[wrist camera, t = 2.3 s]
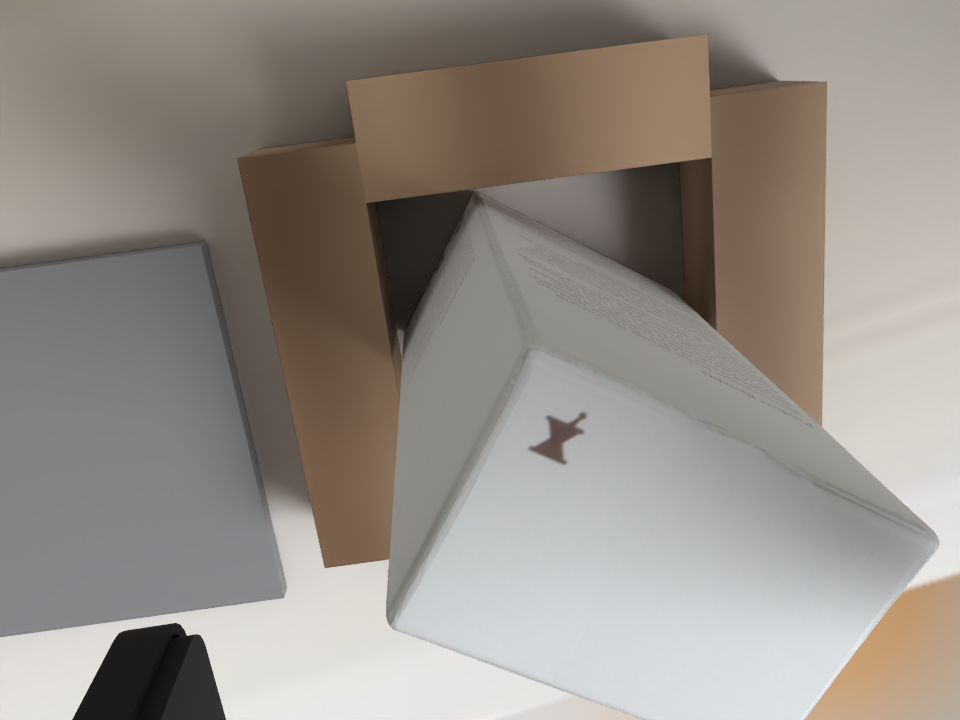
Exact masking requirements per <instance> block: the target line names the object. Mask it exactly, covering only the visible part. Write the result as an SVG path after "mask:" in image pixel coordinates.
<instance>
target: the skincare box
mask: <svg viewBox="0 0 960 720" xmlns="http://www.w3.org/2000/svg"><path fill="white" fill-rule="evenodd" d="M938 546H939V540H938V537H937V535H936V534H935V532H934V531H933V530H932V529H931V528H929V527H928V526H927V525H926V524H925V523H924V522H923V521H922V520H921V519H920V518H919V517H918V516H916V515H915V514H914V513H913V512H912V511H911V510H910V509H909V508H908V507H907V506H906V505H904V504H903V503H902V502H901V501H900V500H899V499H898V498H897V497H896V496H895V495H894V494H893V493H892V492H890V491H889V490H888V489H887V488H886V487H885V486H884V485H883V484H882V483H881V482H880V481H879V480H877V479H876V478H875V477H874V476H873V475H872V474H871V473H870V472H869V471H868V470H867V469H866V468H865V467H864V466H863V465H861V464H860V463H859V462H858V461H857V460H856V459H855V458H854V457H853V456H852V455H851V454H850V453H849V452H848V451H847V450H845V449H844V448H843V447H842V446H841V445H840V444H839V443H838V442H837V441H836V440H835V439H834V438H833V437H832V436H831V435H829V434H828V433H827V432H826V431H825V430H824V429H823V428H822V427H821V426H820V425H819V424H817V423H816V422H815V421H814V420H813V419H812V418H811V417H810V416H809V415H808V414H807V413H806V412H805V411H803V410H802V409H801V408H800V407H799V406H798V405H797V404H796V403H795V402H794V401H792V400H791V399H790V398H789V397H788V396H787V395H786V394H785V393H784V392H783V391H781V390H780V389H779V388H778V387H777V386H776V385H775V384H774V383H773V382H772V381H771V380H770V379H768V378H767V377H766V376H765V375H764V374H763V373H762V372H761V371H759V370H758V369H757V368H756V367H755V366H754V365H753V364H752V363H751V362H750V361H749V360H747V359H746V358H745V357H744V356H743V355H742V354H741V353H740V352H739V351H737V350H736V349H735V348H734V347H733V346H732V345H731V344H730V343H729V342H728V341H727V340H726V339H725V338H724V337H722V336H721V335H720V334H719V333H718V332H717V331H716V330H715V329H713V328H712V327H711V326H710V325H709V324H708V323H707V322H706V321H705V320H704V319H703V318H702V317H701V316H700V315H699V314H698V313H697V312H696V311H694V310H693V309H692V308H691V307H690V306H689V305H688V304H687V303H686V302H685V301H683V300H682V299H681V298H680V297H679V296H678V295H677V294H676V293H675V292H674V291H672V290H670V289H669V288H667V287H665V286H663V285H661V284H659V283H657V282H655V281H653V280H651V279H649V278H647V277H645V276H643V275H641V274H639V273H637V272H635V271H633V270H631V269H629V268H627V267H625V266H623V265H621V264H619V263H617V262H615V261H613V260H611V259H609V258H607V257H605V256H603V255H601V254H599V253H597V252H595V251H593V250H591V249H589V248H587V247H585V246H583V245H582V244H580V243H578V242H576V241H574V240H572V239H570V238H568V237H566V236H564V235H562V234H560V233H558V232H556V231H554V230H552V229H550V228H548V227H546V226H544V225H542V224H540V223H538V222H536V221H534V220H532V219H530V218H528V217H526V216H524V215H522V214H520V213H518V212H516V211H514V210H512V209H510V208H508V207H506V206H504V205H502V204H500V203H498V202H496V201H494V200H492V199H490V198H488V197H486V196H484V195H482V194H480V193H477V192H476V193H474V194H473V195H472V197H471V199H470V201H469V203H468V205H467V207H466V209H465V211H464V213H463V215H462V217H461V219H460V221H459V224H458V226H457V227H456V229H455V231H454V233H453V235H452V237H451V239H450V241H449V243H448V245H447V246H446V248H445V250H444V252H443V254H442V257H441V259H440V261H439V263H438V265H437V267H436V269H435V271H434V274H433V276H432V278H431V280H430V282H429V284H428V286H427V288H426V290H425V292H424V294H423V297H422V299H421V301H420V303H419V305H418V307H417V309H416V311H415V313H414V315H413V317H412V319H411V321H410V323H409V324H408V326H407V328H406V331H405V333H404V344H403V358H402V371H401V388H400V404H399V420H398V433H397V450H396V467H395V477H394V496H393V511H392V529H391V548H390V559H389V570H388V586H387V601H386V617H387V621H388V623H389V625H390V626H391V627H392V628H393V629H394V630H396V631H399V632H402V633H405V634H408V635H411V636H414V637H417V638H420V639H422V640H425V641H428V642H431V643H433V644H436V645H439V646H441V647H444V648H447V649H450V650H453V651H455V652H458V653H461V654H464V655H466V656H469V657H472V658H474V659H477V660H480V661H482V662H485V663H488V664H490V665H493V666H495V667H498V668H501V669H504V670H507V671H509V672H512V673H515V674H518V675H521V676H523V677H526V678H529V679H532V680H534V681H537V682H540V683H543V684H545V685H548V686H551V687H554V688H556V689H559V690H562V691H565V692H567V693H570V694H573V695H576V696H579V697H581V698H584V699H587V700H590V701H593V702H596V703H598V704H601V705H604V706H607V707H609V708H612V709H615V710H618V711H621V712H623V713H626V714H629V715H632V716H635V717H637V718H640V719H643V720H804V719H805V718H806V717H807V715H808V714H809V713H810V711H811V710H812V709H813V707H814V706H815V705H816V703H817V702H818V701H819V699H820V698H821V697H822V695H823V693H824V692H825V691H826V690H827V689H828V687H829V686H830V685H831V683H832V682H833V681H834V679H835V678H836V676H837V675H838V674H839V672H840V671H841V670H842V669H843V667H844V666H845V665H846V663H847V662H848V661H849V660H850V658H851V657H852V656H853V654H854V653H855V652H856V650H857V649H858V648H859V646H860V645H861V644H862V643H863V641H864V640H865V639H866V637H867V636H868V635H869V633H870V632H871V631H872V630H873V628H874V627H875V626H876V624H877V623H878V622H879V621H880V619H881V618H882V616H883V615H884V614H885V613H886V612H887V610H888V609H889V608H890V607H891V605H892V604H893V603H894V602H895V600H896V599H897V598H898V597H899V595H900V594H901V593H902V592H903V590H904V589H905V588H906V587H907V585H908V584H909V583H910V582H911V580H912V579H913V578H914V577H915V576H916V574H917V573H918V572H919V571H920V570H921V568H922V567H923V566H924V565H925V564H926V562H927V561H928V560H929V559H930V558H931V556H932V555H933V554H934V553H935V551H936V550H937V549H938Z"/></svg>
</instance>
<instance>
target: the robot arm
mask: <svg viewBox="0 0 960 720" xmlns="http://www.w3.org/2000/svg"><path fill="white" fill-rule="evenodd" d="M72 720H226V718H225V714H224V711H223V707H222V704H221V700H220V696H219V693H218V689H217V686H216V682H215V678H214V675H213V671H212V668H211V664H210V660H209V657H208V653H207V650H206V646H205V644H204V641H203V639H202V638H201V636H200V635H197V634H196V635H189V636H186V633H185V631H184V629H183V628H182V626H181V625H179V624H177V623H173V624H167V625H160V626H153V627H147V628H140V629H134V630H127V631H123V632H121V633H119V634H118V636H117V637H116V638H115V640H114V641H113V643H112V645H111V647H110V649H109V651H108V653H107V655H106V657H105V659H104V660H103V662H102V664H101V666H100V668H99V670H98V672H97V674H96V676H95V678H94V679H93V681H92V683H91V685H90V687H89V689H88V691H87V693H86V695H85V697H84V698H83V700H82V702H81V704H80V706H79V708H78V710H77V712H76V714H75V716H74V718H73V719H72Z"/></svg>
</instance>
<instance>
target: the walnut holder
mask: <svg viewBox="0 0 960 720" xmlns="http://www.w3.org/2000/svg"><path fill="white" fill-rule="evenodd" d="M346 86H347V92H348V98H349V104H350V110H351V116H352V122H353V127H354V133H355V136H354V137H347V138H339V139H331V140H324V141H316V142H308V143H301V144H293V145H285V146H278V147H270V148H263V149H259V150H256V151H254V152H252V153H250V154H247V155H245V156H243V157H241V158H238V159H237V160H238V165H239V169H240V174H241V179H242V183H243V188H244V193H245V197H246V202H247V207H248V212H249V216H250V221H251V226H252V230H253V235H254V240H255V244H256V249H257V254H258V258H259V263H260V268H261V272H262V277H263V282H264V286H265V291H266V296H267V300H268V305H269V310H270V314H271V319H272V324H273V328H274V333H275V338H276V342H277V347H278V352H279V356H280V361H281V366H282V370H283V375H284V380H285V384H286V389H287V394H288V398H289V403H290V408H291V413H292V417H293V422H294V427H295V431H296V436H297V441H298V445H299V450H300V455H301V459H302V464H303V469H304V473H305V478H306V483H307V487H308V492H309V497H310V501H311V506H312V511H313V515H314V520H315V525H316V529H317V534H318V539H319V543H320V548H321V553H322V557H323V562H324V567H325V568H329V567H337V566H344V565H351V564H358V563H366V562H373V561H380V560H387V559H390V548H391V529H392V511H393V496H394V477H395V467H396V450H397V433H398V420H399V404H400V388H401V371H402V360H401V354H400V348H399V342H398V335H397V329H396V323H395V317H394V311H393V305H392V299H391V292H390V286H389V280H388V274H387V268H386V262H385V256H384V249H383V243H382V237H381V231H380V225H379V219H378V213H377V207H376V202H378V201H385V200H393V199H401V198H408V197H416V196H423V195H431V194H439V193H446V192H454V191H461V190H469V189H476V188H484V187H492V186H499V185H507V184H514V183H522V182H530V181H537V180H545V179H552V178H560V177H567V176H575V175H583V174H590V173H598V172H605V171H613V170H621V169H628V168H636V167H643V166H651V165H658V164H666V163H674V162H680V186H681V209H682V233H683V257H684V280H685V302H686V303H687V304H688V305H689V306H690V307H691V308H692V309H693V310H694V311H696V312H697V313H698V314H699V315H700V316H701V317H702V318H703V319H704V320H705V321H706V322H707V323H708V324H709V325H710V326H711V327H712V328H713V329H715V330H716V331H717V332H718V333H719V334H720V335H721V336H722V337H724V338H725V339H726V340H727V341H728V342H729V343H730V344H731V345H732V346H733V347H734V348H735V349H736V350H737V351H739V352H740V353H741V354H742V355H743V356H744V357H745V358H746V359H747V360H749V361H750V362H751V363H752V364H753V365H754V366H755V367H756V368H757V369H758V370H759V371H761V372H762V373H763V374H764V375H765V376H766V377H767V378H768V379H770V380H771V381H772V382H773V383H774V384H775V385H776V386H777V387H778V388H779V389H780V390H781V391H783V392H784V393H785V394H786V395H787V396H788V397H789V398H790V399H791V400H792V401H794V402H795V403H796V404H797V405H798V406H799V407H800V408H801V409H802V410H803V411H805V412H806V413H807V414H808V415H809V416H810V417H811V418H812V419H813V420H814V421H815V422H816V423H817V424H819V425H820V426H821V427H822V381H823V313H824V244H825V176H826V107H827V82H811V81H775V82H767V83H760V84H752V85H744V86H737V87H729V88H722V89H714V90H710V83H709V49H708V34H703V35H696V36H688V37H680V38H672V39H665V40H657V41H649V42H642V43H634V44H626V45H618V46H611V47H603V48H595V49H588V50H580V51H572V52H565V53H557V54H549V55H541V56H534V57H526V58H518V59H511V60H503V61H495V62H487V63H480V64H472V65H464V66H457V67H449V68H441V69H433V70H426V71H418V72H410V73H403V74H395V75H387V76H380V77H372V78H364V79H356V80H349V81H346Z"/></svg>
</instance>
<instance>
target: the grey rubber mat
mask: <svg viewBox="0 0 960 720" xmlns="http://www.w3.org/2000/svg"><path fill="white" fill-rule="evenodd" d="M286 589H287V586H286V582H285V577H284V573H283V569H282V564H281V560H280V556H279V552H278V547H277V543H276V539H275V534H274V530H273V526H272V522H271V517H270V513H269V509H268V504H267V500H266V496H265V492H264V487H263V483H262V479H261V474H260V470H259V466H258V462H257V457H256V453H255V449H254V445H253V440H252V436H251V432H250V427H249V423H248V419H247V415H246V410H245V406H244V402H243V397H242V393H241V389H240V385H239V380H238V376H237V372H236V367H235V363H234V359H233V355H232V350H231V346H230V342H229V337H228V333H227V329H226V325H225V320H224V316H223V312H222V307H221V303H220V299H219V295H218V290H217V286H216V282H215V277H214V273H213V269H212V265H211V260H210V256H209V252H208V248H207V243H206V242H198V243H191V244H183V245H175V246H168V247H160V248H153V249H145V250H138V251H130V252H122V253H115V254H107V255H100V256H92V257H85V258H77V259H70V260H62V261H54V262H47V263H39V264H32V265H24V266H17V267H9V268H1V269H0V637H6V636H13V635H20V634H27V633H34V632H42V631H49V630H56V629H63V628H70V627H78V626H85V625H92V624H99V623H107V622H114V621H121V620H128V619H135V618H143V617H150V616H157V615H164V614H172V613H179V612H186V611H193V610H200V609H208V608H215V607H222V606H229V605H236V604H244V603H251V602H258V601H265V600H273V599H280V598H284V596H285V592H286Z"/></svg>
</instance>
